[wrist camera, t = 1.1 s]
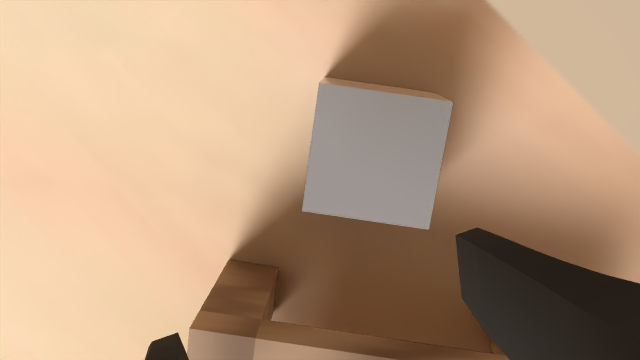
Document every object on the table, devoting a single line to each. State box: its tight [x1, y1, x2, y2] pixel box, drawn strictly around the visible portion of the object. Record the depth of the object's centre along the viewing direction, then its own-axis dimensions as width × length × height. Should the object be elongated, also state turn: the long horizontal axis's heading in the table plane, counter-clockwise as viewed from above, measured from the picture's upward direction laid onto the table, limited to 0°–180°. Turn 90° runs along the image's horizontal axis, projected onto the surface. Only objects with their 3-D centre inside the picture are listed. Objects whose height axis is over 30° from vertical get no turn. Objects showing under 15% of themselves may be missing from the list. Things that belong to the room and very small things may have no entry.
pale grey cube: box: [302, 77, 453, 230], centre depth 24 cm, size 5×5×5 cm
